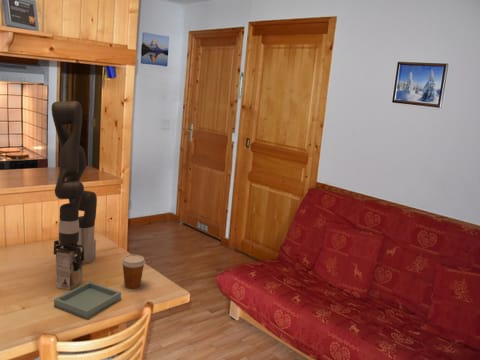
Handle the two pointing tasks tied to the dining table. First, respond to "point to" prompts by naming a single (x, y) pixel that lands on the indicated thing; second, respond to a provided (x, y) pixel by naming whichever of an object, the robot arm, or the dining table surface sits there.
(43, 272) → the dining table surface
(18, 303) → the dining table surface
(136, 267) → the disposable coffee cup
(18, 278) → the dining table surface
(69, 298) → the tray
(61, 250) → the coffee box
